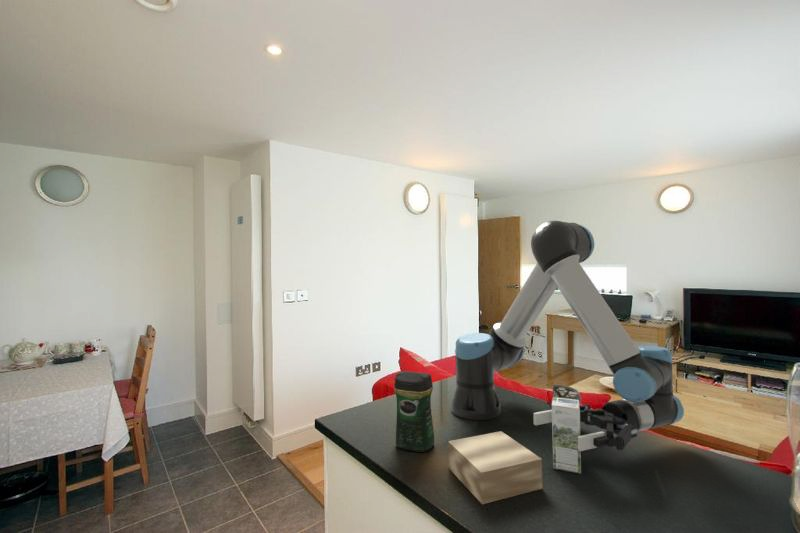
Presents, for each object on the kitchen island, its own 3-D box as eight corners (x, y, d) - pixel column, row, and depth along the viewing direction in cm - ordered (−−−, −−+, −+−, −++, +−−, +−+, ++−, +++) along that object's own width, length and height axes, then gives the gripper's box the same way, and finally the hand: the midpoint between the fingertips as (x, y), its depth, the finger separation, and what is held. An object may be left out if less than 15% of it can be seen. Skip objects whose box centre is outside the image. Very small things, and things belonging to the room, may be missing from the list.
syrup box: (581, 462, 86) (579, 398, 86) (581, 475, 80) (579, 407, 80) (554, 457, 88) (552, 395, 88) (552, 470, 83) (551, 404, 83)
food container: (587, 437, 98) (587, 399, 98) (562, 435, 99) (561, 398, 99) (575, 418, 110) (574, 384, 110) (553, 417, 111) (552, 383, 111)
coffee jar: (438, 442, 97) (436, 370, 97) (426, 456, 90) (425, 378, 90) (404, 435, 101) (402, 366, 101) (391, 448, 94) (389, 374, 94)
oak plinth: (448, 468, 84) (448, 441, 84) (501, 456, 89) (501, 431, 89) (482, 504, 71) (481, 472, 71) (542, 488, 76) (541, 458, 76)
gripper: (680, 455, 78) (603, 476, 71) (585, 413, 102) (519, 425, 95) (679, 419, 79) (602, 436, 71) (584, 385, 102) (519, 395, 95)
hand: (555, 430), depth 83 cm, fingers open, 13 cm apart
